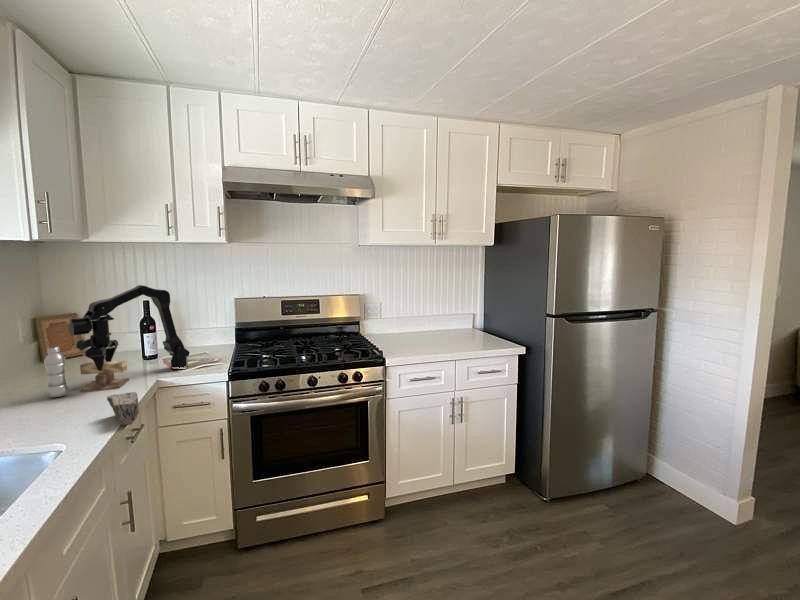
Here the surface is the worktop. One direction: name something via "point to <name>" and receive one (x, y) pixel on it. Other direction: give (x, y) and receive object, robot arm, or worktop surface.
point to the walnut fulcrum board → (110, 386)
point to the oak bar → (104, 367)
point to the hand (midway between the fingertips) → (104, 367)
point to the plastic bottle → (55, 373)
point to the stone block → (124, 407)
